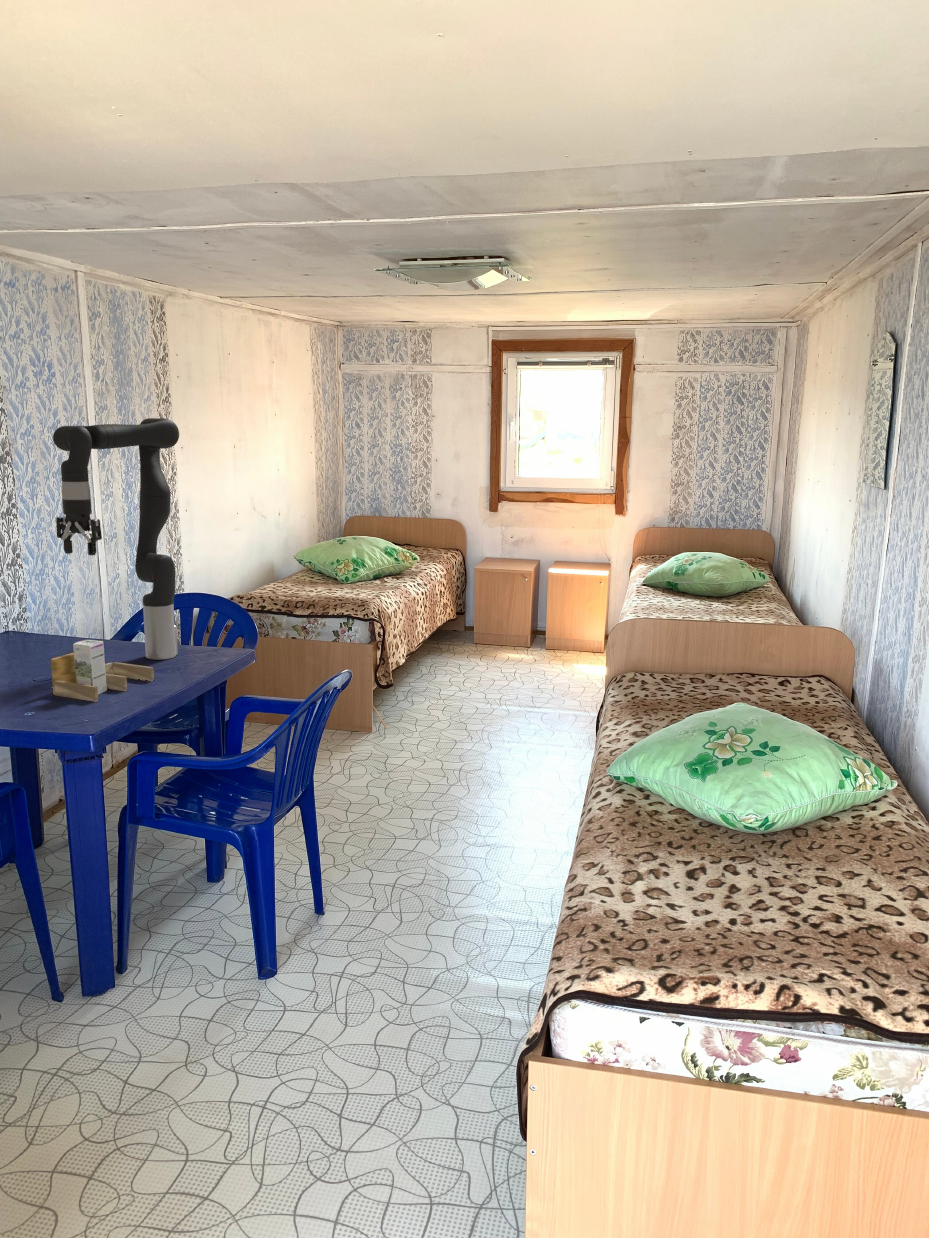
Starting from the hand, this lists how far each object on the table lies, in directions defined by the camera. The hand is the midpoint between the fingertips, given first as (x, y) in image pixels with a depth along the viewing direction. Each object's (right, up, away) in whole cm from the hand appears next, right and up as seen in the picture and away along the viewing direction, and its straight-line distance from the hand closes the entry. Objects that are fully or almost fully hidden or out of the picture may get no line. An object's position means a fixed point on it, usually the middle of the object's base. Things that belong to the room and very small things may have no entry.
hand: (80, 554), depth 255 cm
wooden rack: (+9, -38, -5) cm, 40 cm away
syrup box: (+7, -39, -10) cm, 41 cm away
